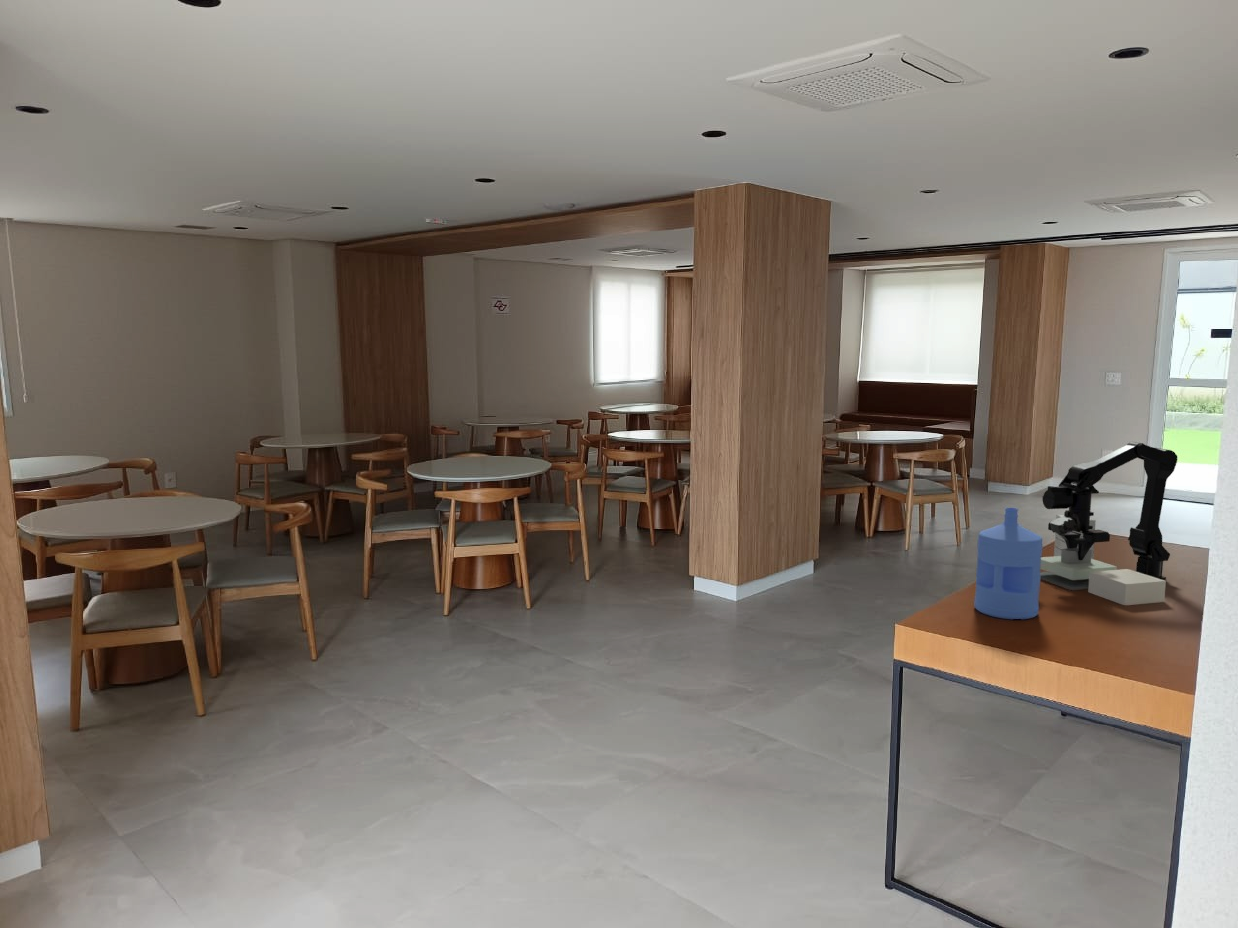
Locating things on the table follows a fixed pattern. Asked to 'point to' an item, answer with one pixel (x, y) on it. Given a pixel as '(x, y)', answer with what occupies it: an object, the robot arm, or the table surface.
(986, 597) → the water jug
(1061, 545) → the supplement box
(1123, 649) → the table surface
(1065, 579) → the mat
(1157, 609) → the table surface
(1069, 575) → the lid
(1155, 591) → the storage box
